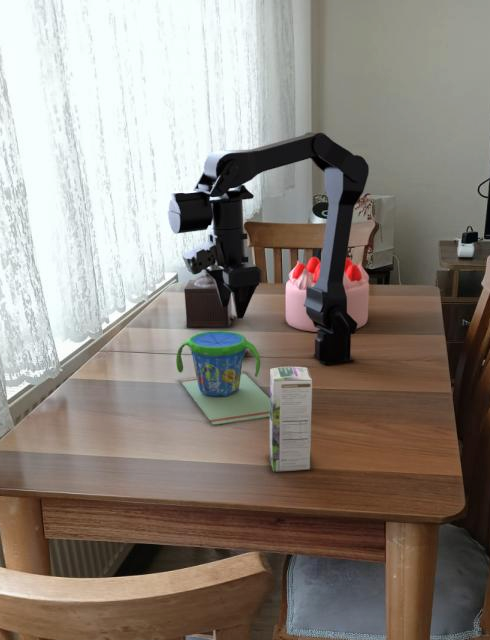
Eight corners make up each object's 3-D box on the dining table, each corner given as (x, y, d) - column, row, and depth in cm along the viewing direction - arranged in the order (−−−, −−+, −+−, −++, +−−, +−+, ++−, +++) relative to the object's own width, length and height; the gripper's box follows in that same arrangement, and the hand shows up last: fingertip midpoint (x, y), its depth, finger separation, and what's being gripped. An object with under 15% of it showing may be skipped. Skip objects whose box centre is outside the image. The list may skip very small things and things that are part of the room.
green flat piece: (242, 372, 156) (242, 371, 156) (284, 414, 136) (284, 413, 136) (179, 380, 153) (179, 379, 153) (213, 425, 132) (212, 424, 132)
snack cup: (267, 385, 149) (266, 333, 144) (250, 404, 140) (249, 350, 135) (191, 378, 153) (188, 327, 149) (170, 397, 144) (166, 343, 140)
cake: (278, 331, 181) (278, 269, 175) (293, 309, 198) (293, 252, 192) (363, 335, 177) (366, 271, 171) (371, 312, 194) (373, 253, 188)
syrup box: (268, 456, 121) (267, 367, 114) (306, 454, 121) (307, 365, 115) (272, 472, 116) (271, 380, 109) (312, 470, 116) (313, 378, 110)
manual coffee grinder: (231, 327, 185) (229, 250, 177) (185, 328, 185) (180, 250, 177) (237, 310, 199) (234, 238, 190) (194, 311, 199) (189, 238, 191)
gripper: (171, 223, 146) (178, 306, 153) (198, 240, 130) (205, 331, 137) (228, 218, 149) (232, 299, 156) (261, 233, 133) (264, 322, 140)
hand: (232, 312), depth 147 cm, fingers open, 9 cm apart
